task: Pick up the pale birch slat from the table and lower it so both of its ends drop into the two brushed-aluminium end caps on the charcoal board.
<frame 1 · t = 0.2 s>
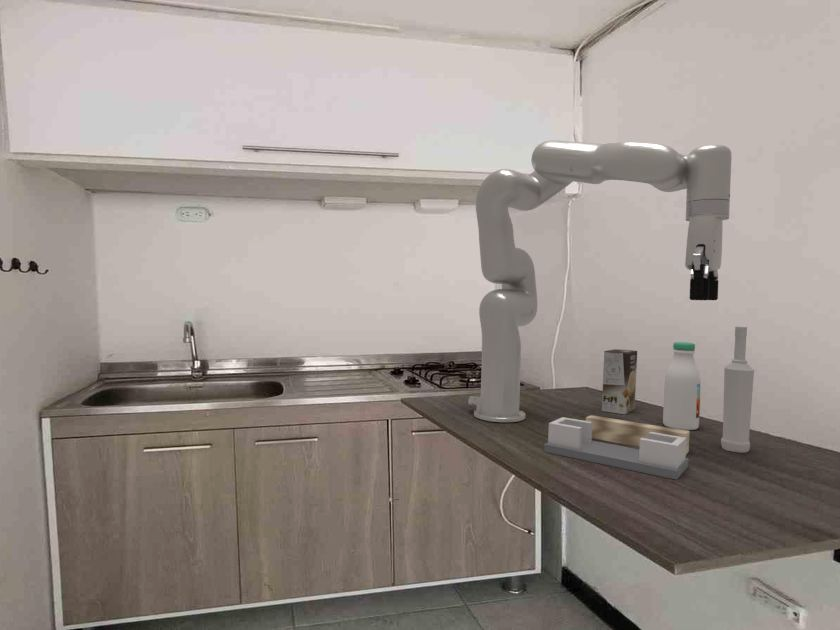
hand: (704, 300, 107), 30 cm above the worktop, tool pointing down, fingers open, 9 cm apart
cap board: (613, 459, 103), on the worktop
slat: (634, 445, 114), on the worktop
bottle: (735, 450, 111), on the worktop
coffee box: (618, 411, 146), on the worktop
milk bottle: (680, 427, 129), on the worktop
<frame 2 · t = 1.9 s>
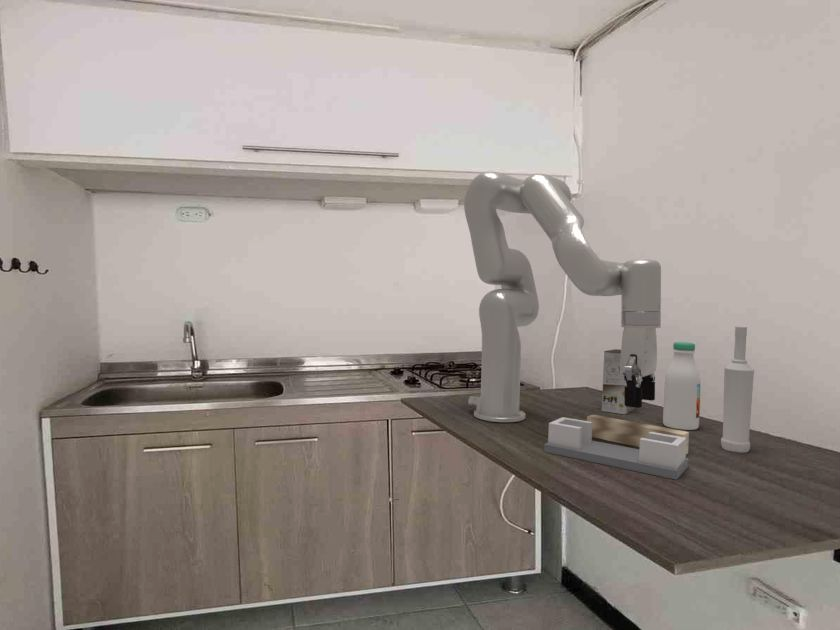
hand: (640, 403, 113), 9 cm above the worktop, tool pointing down, fingers open, 9 cm apart
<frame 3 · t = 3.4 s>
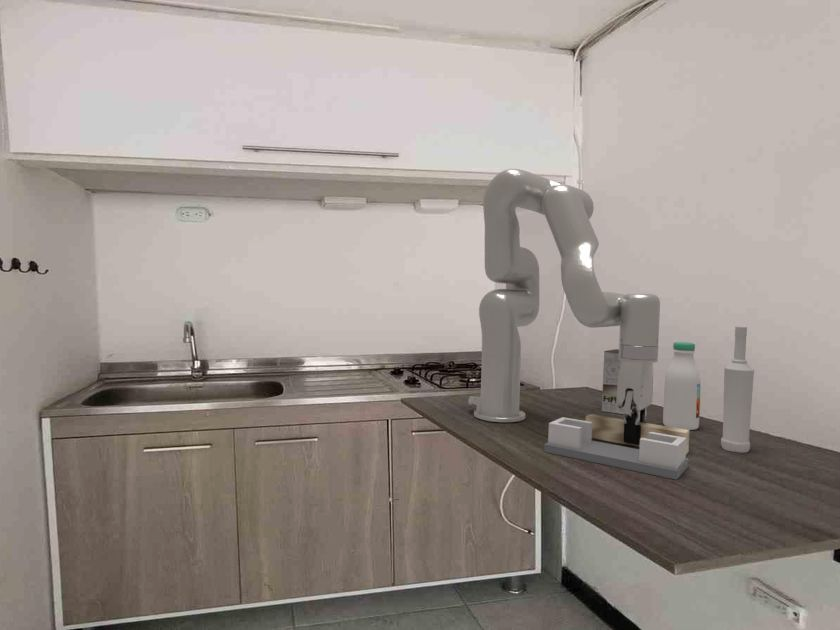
hand: (634, 440, 114), 1 cm above the worktop, tool pointing down, fingers closed on slat, 3 cm apart
slat: (634, 444, 114), on the worktop, touching gripper
everything else where it was.
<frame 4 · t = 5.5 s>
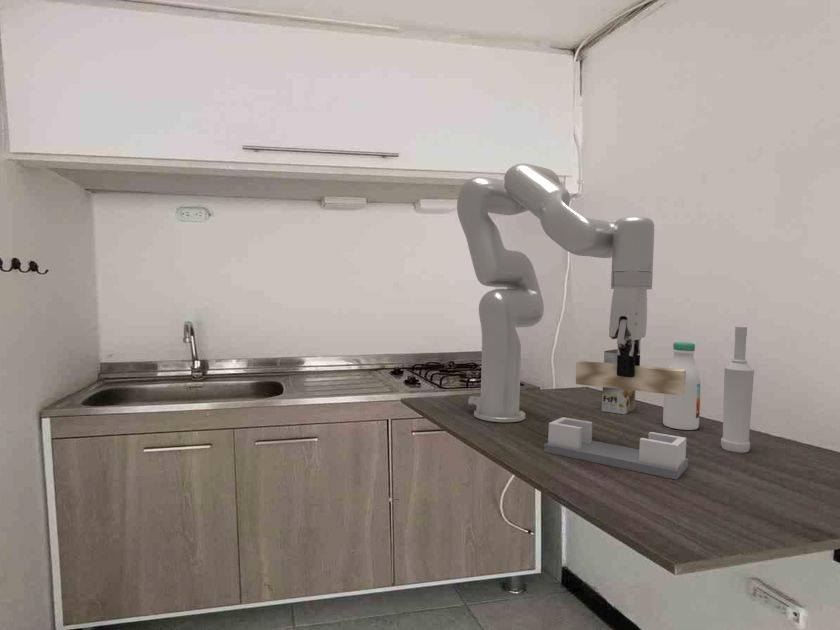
hand: (628, 374, 107), 15 cm above the worktop, tool pointing down, fingers closed on slat, 3 cm apart
slat: (628, 388, 107), point 13 cm above the worktop, touching gripper
everything else where it was.
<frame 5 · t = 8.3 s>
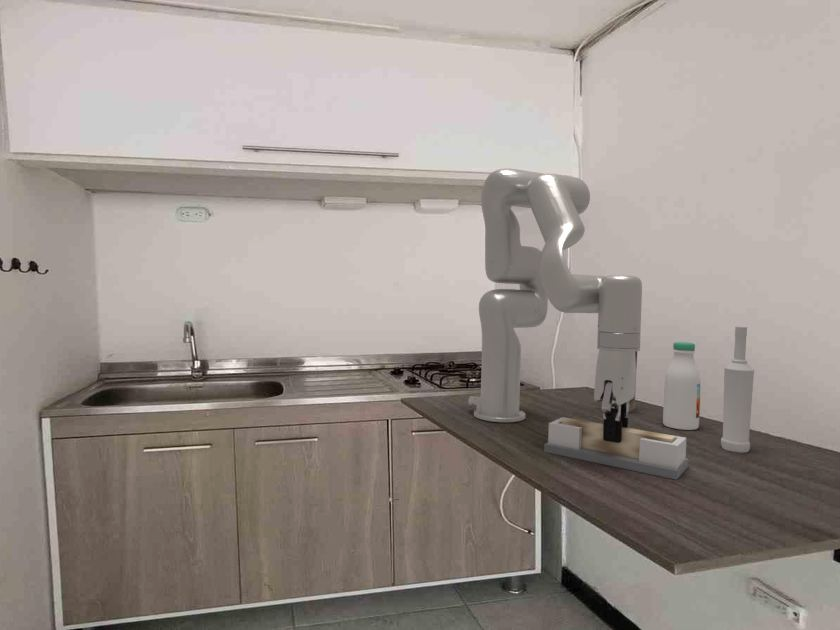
hand: (615, 438, 102), 4 cm above the worktop, tool pointing down, fingers closed on slat, 2 cm apart
slat: (615, 451, 103), point 1 cm above the worktop, touching cap board, gripper
everything else where it was.
when the fingers open (4 cm above the worktop, at t = 8.3 s): slat stays where it is, resting on cap board.
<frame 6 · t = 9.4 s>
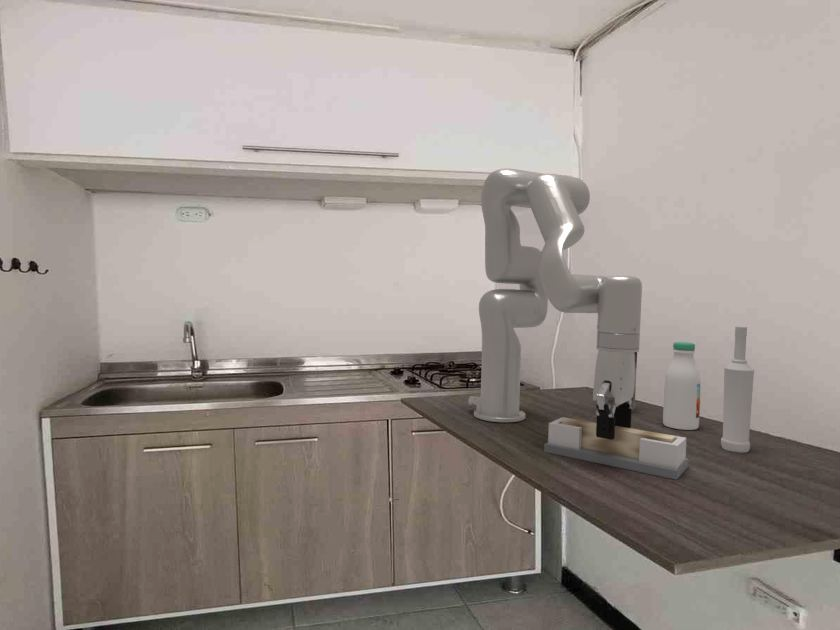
hand: (613, 432, 103), 5 cm above the worktop, tool pointing down, fingers open, 9 cm apart
slat: (615, 451, 103), point 1 cm above the worktop, touching cap board
everything else where it was.
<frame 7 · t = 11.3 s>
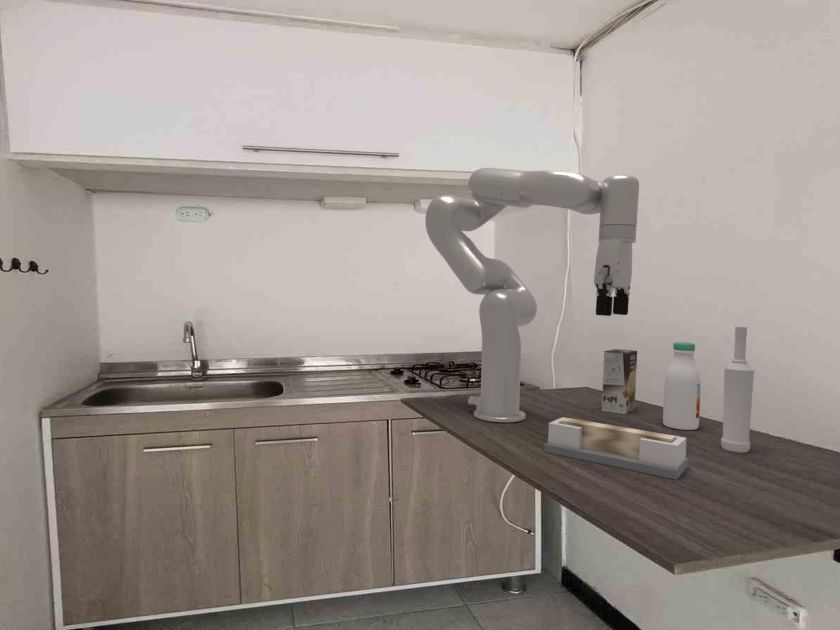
hand: (612, 314, 118), 27 cm above the worktop, tool pointing down, fingers open, 9 cm apart
nothing on the worktop moved.
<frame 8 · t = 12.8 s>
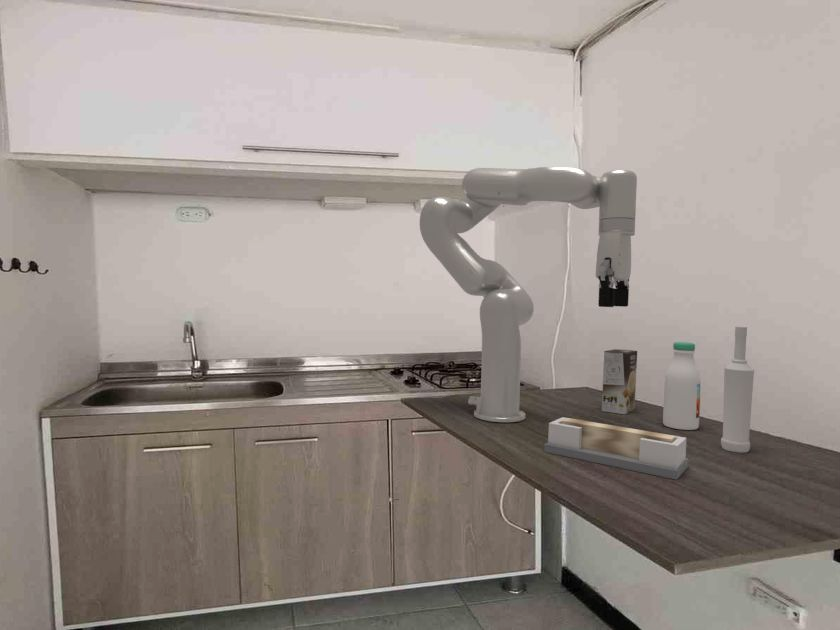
hand: (613, 306, 120), 28 cm above the worktop, tool pointing down, fingers open, 9 cm apart
nothing on the worktop moved.
at the end: slat 0.3 cm off-centre on the cap board, point 1.5 cm above the cap board's base; slat tilted 0°; the gripper is holding nothing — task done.
